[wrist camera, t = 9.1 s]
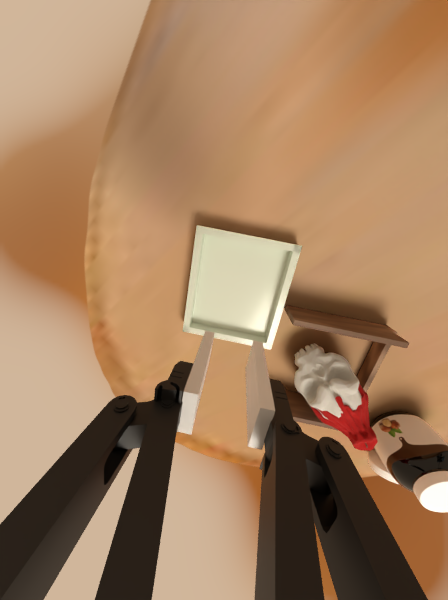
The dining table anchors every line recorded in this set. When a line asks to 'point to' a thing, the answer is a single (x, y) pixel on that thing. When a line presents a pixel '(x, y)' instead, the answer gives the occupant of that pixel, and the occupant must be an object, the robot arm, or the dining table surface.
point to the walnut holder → (347, 327)
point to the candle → (334, 394)
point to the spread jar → (412, 457)
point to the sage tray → (238, 285)
